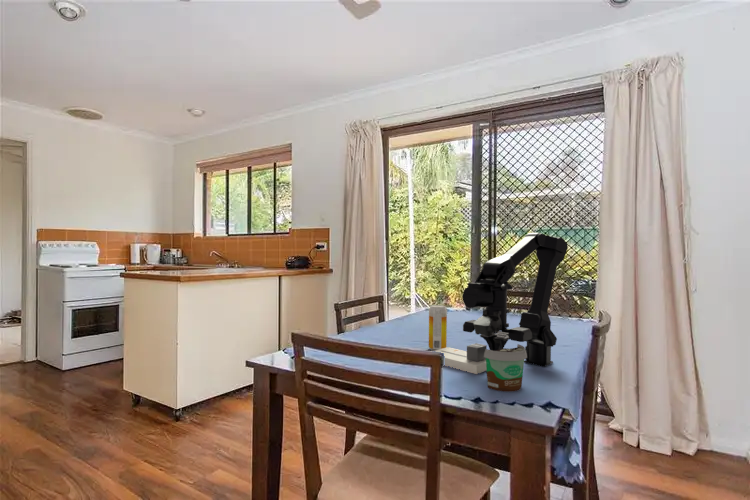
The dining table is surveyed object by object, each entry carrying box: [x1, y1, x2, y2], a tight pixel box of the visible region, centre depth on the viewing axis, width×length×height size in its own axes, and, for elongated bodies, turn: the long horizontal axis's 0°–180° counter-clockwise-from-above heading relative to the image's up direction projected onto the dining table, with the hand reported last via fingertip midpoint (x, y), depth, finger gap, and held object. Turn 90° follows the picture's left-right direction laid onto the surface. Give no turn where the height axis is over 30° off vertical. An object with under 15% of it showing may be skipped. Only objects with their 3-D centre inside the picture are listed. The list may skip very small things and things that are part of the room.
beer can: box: [428, 304, 448, 352], centre depth 140 cm, size 6×6×15 cm
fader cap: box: [466, 342, 488, 362], centre depth 119 cm, size 4×5×4 cm
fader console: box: [435, 346, 487, 375], centre depth 123 cm, size 18×11×2 cm, turn 44°
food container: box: [484, 343, 527, 393], centre depth 102 cm, size 12×6×10 cm, turn 117°
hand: (495, 360), depth 115 cm, fingers closed
